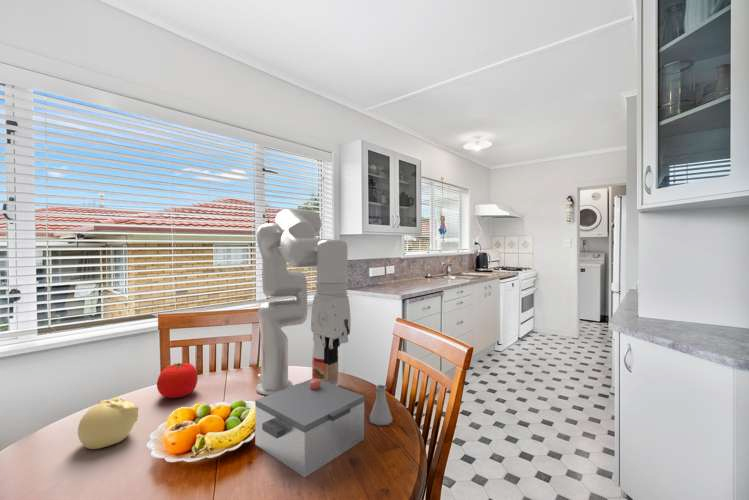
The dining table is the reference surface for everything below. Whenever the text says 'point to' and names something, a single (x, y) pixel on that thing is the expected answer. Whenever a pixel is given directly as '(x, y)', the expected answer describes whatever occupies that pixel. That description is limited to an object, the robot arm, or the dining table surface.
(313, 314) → the robot arm
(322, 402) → the lid
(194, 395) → the dining table surface
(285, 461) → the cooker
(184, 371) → the tomato
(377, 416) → the flask
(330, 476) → the dining table surface
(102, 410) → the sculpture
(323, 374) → the fruit juice
